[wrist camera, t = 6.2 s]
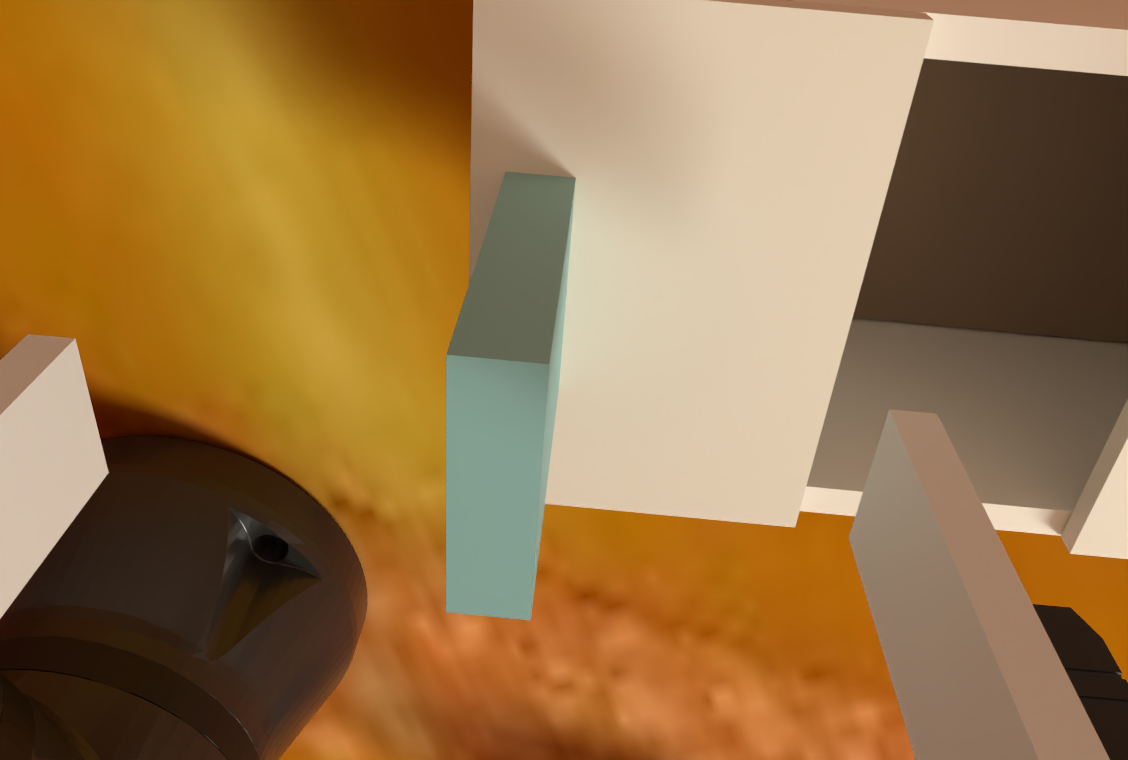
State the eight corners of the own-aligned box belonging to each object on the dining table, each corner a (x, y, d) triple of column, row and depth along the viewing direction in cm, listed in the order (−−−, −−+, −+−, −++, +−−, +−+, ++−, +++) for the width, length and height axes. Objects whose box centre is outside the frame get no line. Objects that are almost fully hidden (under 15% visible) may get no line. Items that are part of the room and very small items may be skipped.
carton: (679, 311, 32) (695, 501, 24) (739, -74, 25) (792, 0, 17) (1205, 359, 32) (1411, 568, 23) (1404, -17, 25) (1788, 87, 17)
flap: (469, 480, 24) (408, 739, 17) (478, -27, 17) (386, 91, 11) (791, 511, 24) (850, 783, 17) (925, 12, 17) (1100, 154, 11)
